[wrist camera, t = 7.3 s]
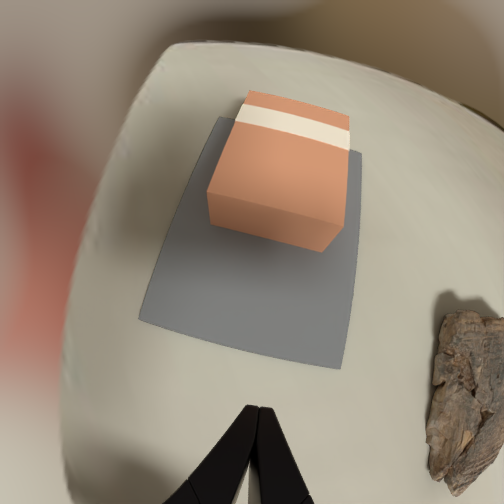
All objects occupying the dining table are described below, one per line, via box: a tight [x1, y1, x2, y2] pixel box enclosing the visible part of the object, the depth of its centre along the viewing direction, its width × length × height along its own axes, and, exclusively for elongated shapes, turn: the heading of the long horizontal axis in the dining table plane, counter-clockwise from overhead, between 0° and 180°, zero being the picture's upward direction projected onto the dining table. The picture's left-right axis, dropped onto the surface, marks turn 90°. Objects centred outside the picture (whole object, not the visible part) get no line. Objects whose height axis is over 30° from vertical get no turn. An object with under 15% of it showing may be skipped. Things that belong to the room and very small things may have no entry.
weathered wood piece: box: [426, 309, 504, 497], centre depth 16 cm, size 14×5×20 cm
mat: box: [138, 117, 362, 369], centre depth 24 cm, size 22×16×1 cm
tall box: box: [207, 91, 350, 253], centre depth 23 cm, size 5×10×12 cm
